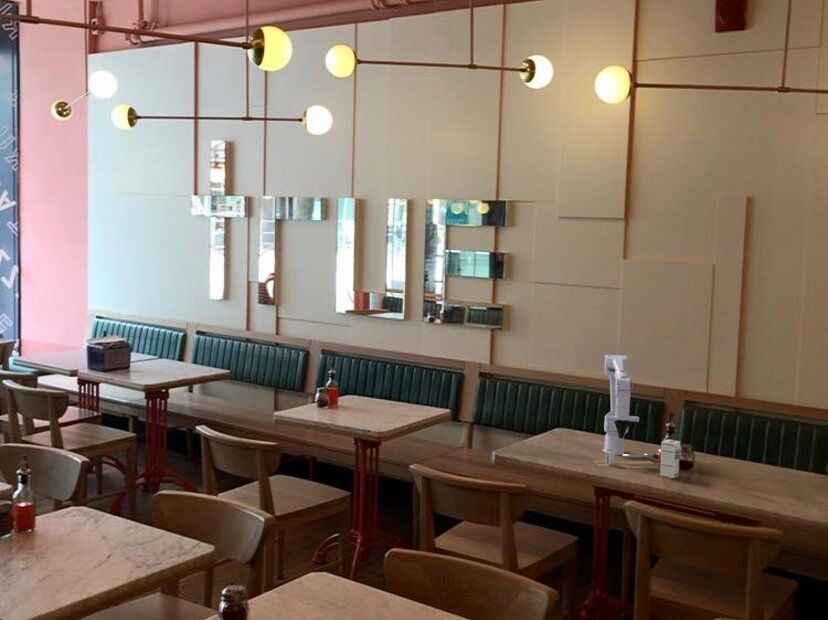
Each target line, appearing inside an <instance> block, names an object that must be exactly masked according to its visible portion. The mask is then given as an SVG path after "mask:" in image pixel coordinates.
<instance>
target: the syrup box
mask: <svg viewBox="0 0 828 620" xmlns="http://www.w3.org/2000/svg"><path fill="white" fill-rule="evenodd" d="M660 449H661V463H660V467H659V470H660V473H659V475H660V476H661V477H665V478H666V477H668V478H667V479H671V478H674V479H675V478H677V477H679V476H680V460H681V459H680V457H681V455H680V454H681V441H680V440H675V439H666V440H663V441H661V447H660Z"/></svg>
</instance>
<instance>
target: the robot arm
mask: <svg viewBox="0 0 828 620" xmlns="http://www.w3.org/2000/svg"><path fill="white" fill-rule="evenodd" d="M628 367H629V356H627V354H626V355H620V354H617V355H615V354H606V355H605V356H604V374H605V375H606V376H607V377H608V379H609V391H610V392H609V393H610V394H609V395H610V396H609V397H610V411H609V412H608V413H606V414H605V416H604V424H603V427H604V432H605V433H606V434H605V435H604V444H603V445H604V446H603V447H604V448H603V449H601V451H602V452H603V453H606V449H611V450H613V451H614V456H622V455H627V453H625V452H624V442H625V435H626V434H627V433H629V426H630V422H636V423H637V422H638V423H639V421H640V417H639V416H635V415H630V404H631V393H632V391H633V381H632V380H633V379H632V378H631V377H629V373H628V371H627V370H628Z"/></svg>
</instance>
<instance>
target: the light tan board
mask: <svg viewBox="0 0 828 620" xmlns="http://www.w3.org/2000/svg"><path fill="white" fill-rule="evenodd" d="M604 460H605V459H604ZM604 460H602V459H600V460H597V459H595V460H593V459H592V460H591V461H592V462H594V463H595V464H596V465H598V466H599V467H600V468H601V469H660V467H659V466H658V465H657V464H655V463H654V462H652V461H651V460H650V459H641V460H640V459H633V460H631V459H630V460H629V459H625V460H624V459H623V460H621V459H614V463H615V464H616V466H608V465H607V464H605V463H604Z"/></svg>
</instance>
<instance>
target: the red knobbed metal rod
mask: <svg viewBox="0 0 828 620" xmlns="http://www.w3.org/2000/svg"><path fill="white" fill-rule="evenodd" d="M621 457H622V459H643V460H650V459H655V460H656V462H657V464H661V448H658V449H656V451H655V453H643V454H626V455H621Z"/></svg>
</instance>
